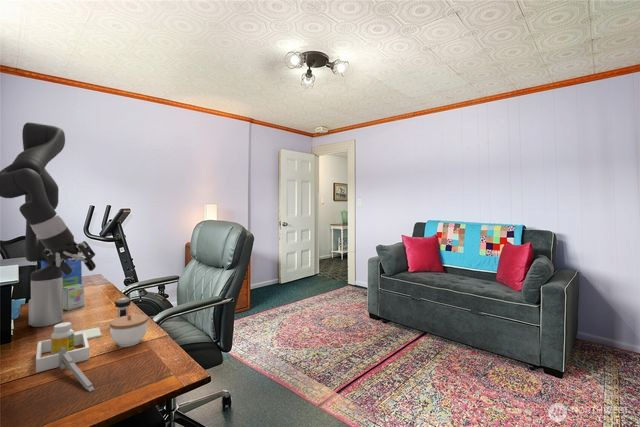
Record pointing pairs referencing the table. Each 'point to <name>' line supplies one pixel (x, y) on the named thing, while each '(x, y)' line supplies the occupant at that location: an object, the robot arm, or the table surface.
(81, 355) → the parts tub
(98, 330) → the rubber mat
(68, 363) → the caliper
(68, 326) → the supplement bottle
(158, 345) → the table surface
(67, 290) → the ink box
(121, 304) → the push button
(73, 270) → the string lights box
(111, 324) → the lidded jar
